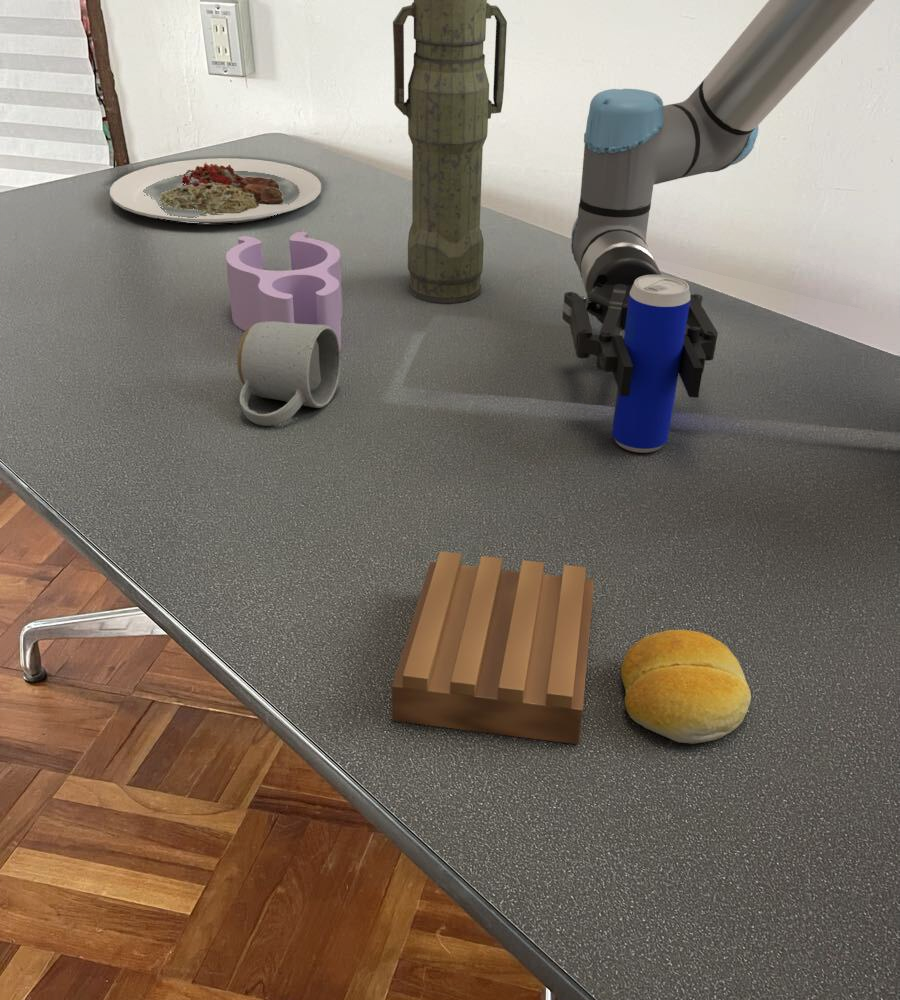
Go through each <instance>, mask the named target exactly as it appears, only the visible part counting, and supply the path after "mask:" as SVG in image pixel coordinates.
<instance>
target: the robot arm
mask: <svg viewBox="0 0 900 1000" xmlns="http://www.w3.org/2000/svg"><path fill="white" fill-rule="evenodd" d="M874 1H875V0H768V1H767V2H766V3H765V4H764V5H763V7H762V8H761V10H759V12H758V13H757V14H756V16H755V17H754V18H753V19H752V20H751V21H750V23H749V24H748V25H747V27H745V29H744V30H743V31H742V32H741V34H740V35H739V36H738V37H737V39H736V40H735V41H734V42H733V44H732V45H731V46H730V48H729V49H728V50H727V51H726V52H725V53H724V55H722V57H721V58H720V59H719V60H718V62H717V63H716V64H715V65H714V67H713V68H712V69H711V70H710V72H709V73H708V74H707V76H705V77H704V79H703V80H702V81H701V82H700V84H698V86H697V87H696V88H695V89H694V91H692V93H691V94H690V95H689V96H688V97H687V98H686V99H684V100H683V101H680V102H676V103H671V104H670V103H669V104H665V105H664V101H663V99H662V97H660V95H658V94H657V93H655V92H652V91H648V90H644V89H637V88H621V89H620V88H611V89H605V90H601V91H600V92H599V91H598V93H596V94H595V95H594V96H593V97H592V99H591V101H590V103H589V109H588V115H587V118H586V119H587V120H586V126H585V132H584V133H583V134H584V135H583V143H584V147H583V160H582V170H581V171H582V173H581V183H580V184H581V185H580V197H579V202H578V209H577V210H578V211H577V218H575V221H574V223H573V226H572V229H571V244H570V248H571V253H572V255H573V260H574V261H575V264H576V266H577V268H578V271H579V273H580V277H581V281H582V284H583V287H584V290H585V293H586V296H583V295H581V296H580V295H579V294H578V293H576V292H574V291H567V292H564V296H563V297H564V298H563V307H562V320H563V321H564V322H566V324H568V325H569V327H570V332H571V337H572V343H573V346H574V351H575V355H576V357H578V358H579V359H588V358H589V357H590V356H591V355H593V356H596V361H595V367H596V368H597V369H599V370H602V371H604V372H605V373H613V377H614V380H615V383H616V387H617V389H618V390H619V393H620V396H629V395H630V387H631V380H632V372H633V365H632V362H631V359H630V356H629V353H628V351H627V348H626V345H625V342H624V335H620V333H621V331H625V325H626V317H627V309H628V301H629V293H630V290H631V288H632V286H633V284H634V281H635V280H636V279H637V278H639V277H641V276H645V275H662V273H661V271H660V269H659V267H658V265H657V262H656V260H655V258H654V256H653V254H652V252H651V250H650V248H649V246H648V244H647V233H648V232H647V231H648V225H649V217H650V210H651V207H652V206H651V205H652V200H653V199H652V197H653V191H654V185H659V184H663V183H668V182H672V181H675V180H679V179H683V178H684V179H685V178H688V177H692V176H697V175H702V174H706V173H715V172H720V171H723V170H725V169H728V168H729V167H730V166H733V165H736V164H738V163H740V162H742V161H744V160H745V159H746V158H747V157H748V156H749V155H750V154H751V152H752V151H753V149H754V146H755V143H756V139H757V138H758V136H759V135H758V134H759V125H760V124H761V123H762V122H763V121H764V120H765V119H766V118H767V117H768V115H769V114H770V113H771V112H772V111H773V110H774V109H775V108H776V107H777V106H778V105H779V103H780V102H781V101H782V100H783V99H785V97H786V96H788V94H789V93H790V92H791V91H792V89H793V88H794V87H795V86H797V84H798V83H799V82H800V81H801V80H802V79H803V78H804V77H805V76H806V75H807V73H808V72H809V71H810V70H811V69H812V68H813V67H814V66H816V64H817V63H818V62H819V61H820V59H821V58H822V57H823V56H824V55H825V54H826V53H827V52H828V51H829V50H830V49H831V48H832V47H833V46H834V44H835V43H836V42H837V41H838V40H839V39H840V38H841V37H842V36H843V35H844V34H845V33H846V32H847V31H848V30H849V28H850V27H851V26H852V25H853V24H854V23H855V22H856V21H857V20H858V19H859V18H860V17H861V16H862V14H863V13H864V12H866V10H867V9H868V8H869V7H870V6H871V5H872V4H873V3H874ZM690 298H691V299H690V305H689V311H688V317H687V324H686V330H685V336H684V342H683V349H682V355H681V361H680V367H679V373H678V376H679V377H680V379H681V382H682V384H683V386H684V389H685V391H686V393H687V395H688V397H689V398H699V394H700V387H701V382H702V378H703V377H702V376H703V373H704V370H705V364H706V361H712V360H714V357H715V352H716V346H717V339H718V334H719V333H718V331H717V329H716V328H715V325H714V324H713V322H712V320H711V318H710V317H709V316H708V314H707V312H706V310H705V308H704V307H703V299H704V296H703V295H700V294H697V293H693V294H690ZM589 315H590V316H593V317H595V318H596V319H597V320H598V321H599V322H600V323H601V324H602V325H601V327H600V330H599V334H595V333H593V328H592V324H591V321H590V320H591V319H590V317H589Z"/></svg>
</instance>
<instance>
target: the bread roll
mask: <svg viewBox="0 0 900 1000" xmlns="http://www.w3.org/2000/svg"><path fill="white" fill-rule="evenodd" d="M620 671H621V672H620V673H621V680H622V683H623V687H624V690H625V696H624V705H625V709H626V711H627V714H628V715H629V717H630V718H631V720H633V721H634V723H637V724H638V725H640V726H642V727H643V728H644V729H647V730H649V731H651V732H653V733H656V734H658V735H660V736H662V737H665V738H667V739H670V740H672V741H674V742H677V743H683V744H684V743H685V744H701V743H707V742H712V741H716V740H719V739H721V738H723V737H724V736H726V735H728V734H731V732H733V731H734V730H736V729H737V728H738V727H740V725H741V724H742V723H743V721H744V720H745V717H746V715H747V713H748V711H749V707H750V705H751V700H752V695H751V694H752V693H751V690H750V687H749V685H748V683H747V679H746V676H745V674H744V671H743V668H742V667H741V665H740V662H739V660H738V659H737V657H736V656H735V655H734V654H733V652H732V651H731V650H730V648H728V646H727V645H726V644H724V643H723V642H721V641H720V640H718V639H716V638H714V637H713V636H710V635H709V634H706V633H704V632H702V631H696V630H688V629H670V630H664V631H660V632H656V633H652V634H650V635H646V636H645V637H642V638H641V639H639V640H638V641H636V642H635V643H634V644H633V645H631V646H630V648H629V649H628V650H627V652H626V653H625V656H624V658H623V660H622V664H621V667H620Z"/></svg>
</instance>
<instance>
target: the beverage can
mask: <svg viewBox="0 0 900 1000" xmlns="http://www.w3.org/2000/svg"><path fill="white" fill-rule="evenodd" d="M689 286H690V285H689V283H687V282H686V281H685V280H683V279H681V278H679V277H676V276H672V275H666V274H661V275H645V276H641V277H639V278H637V279H636V280H635V281H634V284H633V286H632V288H631V290H630V293H629V301H628V309H627V317H626V325H625V330H624V335H623V339H624V342H625V345H626V348H627V351H628V353H629V356H630V359H631V362H632V365H633V372H632V380H631V387H630V395H629V396H620V393H619V390H618V388H617V389H616V390H617V391H616V398H615V406H614V414H613V422H612V429H611V435H612V438H613V439H614V441H615V443H616V444H617V445H618V446H619V447H621V448H622V449H624V450H626V451H629V452H633V453H641V454H645V453H653V452H656V451H658V450H660V449H661V448H662V447H664V446H665V444H667V442H668V440H669V435H670V428H671V422H672V418H673V417H672V416H673V410H674V405H675V397H676V392H677V386H678V379H679V367H680V361H681V355H682V349H683V342H684V336H685V330H686V324H687V317H688V311H689V305H690V299H691V298H690V296H691V292H690V287H689Z"/></svg>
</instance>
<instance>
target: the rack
mask: <svg viewBox="0 0 900 1000" xmlns="http://www.w3.org/2000/svg"><path fill="white" fill-rule="evenodd" d="M462 555H463V554H462V553H460V552H451V551H443V550H440V551H439V553H438V556H437V560H436V561H430V562H429V565H428V567H427V571H426V575H425V578H424V581H423V584H422V588H421V591H420V593H419V597H418V600H417V602H416V603H417V604H416V605H415V610H414V613H413V616H412V620H411V623H410V627H409V628H408V632H407V635H406V640H405V642H404V645H403V649H402V652H401V655H400V659H399V661H398V665H397V667H396V668H397V669H396V672H395V674H394V679H393V682H392V684H391V716H392V717H391V718H392V719H391V720H392V722H399V723H400V722H401V723H408V724H414V725H423V726H431V727H438V728H447V729H453V730H461V731H469V732H475V733H476V732H477V733H486V734H493V735H500V736H509V737H516V738H524V739H530V740H531V739H533V740H541V741H548V742H556V743H563V744H571V745H578V744H579V743H580V742H579V741H580V735H581V734H580V733H581V726H582V718H583V710H584V699H585V690H586V678H587V667H588V666H587V665H588V657H589V656H588V655H589V646H590V636H591V635H590V634H591V624H592V623H591V622H592V614H593V613H592V611H593V602H594V600H593V599H594V590H595V579H591V578H586V574H587V573H586V572H587V567H586V566H580V565H570V564H563V568H562V575H555V574H548V573H547V574H546V573H544V571H545V562H543V561H542V562H541V561H532V560H524V559H523V560H521V564H520V569H519V570H511V569H503V561H504V559H503V557H494V556H487V555H486V556H485V555H481V556H480V559H479V561H478V566H475V565H465V564H462V557H463V556H462Z"/></svg>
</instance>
